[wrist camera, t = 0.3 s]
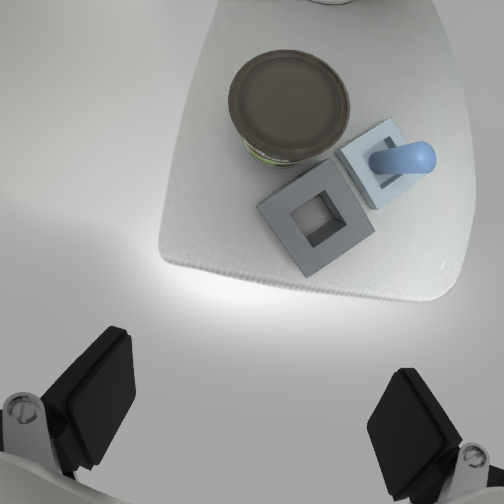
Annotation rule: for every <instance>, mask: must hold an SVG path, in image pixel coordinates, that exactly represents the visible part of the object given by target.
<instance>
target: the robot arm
mask: <svg viewBox="0 0 504 504" xmlns="http://www.w3.org/2000/svg"><path fill="white" fill-rule="evenodd" d="M311 1H315V2H319V3H324V4H343V3H348V2H350V1H352V0H311ZM135 396H136V387H135V378H134V368H133V354H132V340H131V336H130V335H128V334H127V331H126V330H125V329H121V328H118V327H114V326H110V327H108V328H107V329H106V330H105V331H104V332H103V333H102V334H101V335H100V336H99V337H98V338H97V339H96V340H95V341H94V342H93V343H92V344H91V345H90V346H89V347H88V348H87V350H86V351H85V352H84V353H83V354H82V355H81V356H79V357H78V358H77V359H76V360H75V361H74V363H72V364H71V365H70V367H69V368H68V369H67V370H66V371H65V372H64V373H63V374H62V375H61V376H60V377H59V378H58V379H57V381H55V383H54V384H53V385H52V386H51V387H50V388H49V389H48V390H47V391H46V393H45V394H44V395H43V396H42V397H41V398H39V397H37V396H36V395H34V394H31V393H26V392H20V393H15V394H13V395H11V396H10V397H9V398H7V399H6V401H5V403H4V404H3V410H0V504H131V503H128V502H125V501H123V500H120V499H117V498H114V497H112V496H109V495H107V494H104V493H102V492H99V491H97V490H94V489H92V488H90V487H88V486H86V485H83V484H81V483H79V481H78V478H77V475H76V472H75V471H77V469H78V467H79V466H82V467H84V468H86V469H88V470H90V471H91V469H92V468H93V466H94V465H98V464H99V463H100V462H101V460H102V458H103V456H104V454H105V453H106V451H107V449H108V447H109V445H110V443H111V441H112V439H113V438H114V436H115V434H116V432H117V430H118V428H119V427H120V425H121V423H122V421H123V419H124V418H125V416H126V414H127V412H128V410H129V408H130V407H131V405H132V403H133V401H134V399H135ZM367 431H368V433H369V436H370V439H371V442H372V445H373V448H374V451H375V454H376V456H377V460H378V463H379V465H380V468H381V472H382V474H383V478H384V481H385V484H386V487H387V490H388V493H389V494H390V495H392V496H393V500H394V501H399V500H403V499H406V498H407V497H409V498H410V502H409V504H504V470H503V469H500V468H497V467H494V466H492V465H489V462H490V459H489V454H488V452H487V451H486V449H485V448H484V447H482V446H481V445H479V444H477V443H466V444H464V445H463V446H462V447H461V448H459V446H458V445H459V444H460V443H461V441H462V438H461V436H460V435H459V433H458V432H457V430H456V429H455V427H454V425H453V424H452V422H451V421H450V419H449V418H448V416H447V414H446V413H445V411H444V410H443V408H442V407H441V405H440V404H439V402H438V401H437V400H436V398H435V397H434V395H433V394H432V392H431V391H430V389H429V388H428V386H427V385H426V383H425V382H424V381H423V379H422V378H421V376H420V375H419V374H418V372H417V371H416V369H414V368H400V369H399V370H398V371H397V372H395V373H394V374H393V376H392V378H391V380H390V382H389V384H388V386H387V388H386V390H385V392H384V394H383V396H382V397H381V399H380V401H379V403H378V405H377V406H376V408H375V410H374V412H373V414H372V415H371V417H370V419H369V420H368V423H367Z"/></svg>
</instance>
